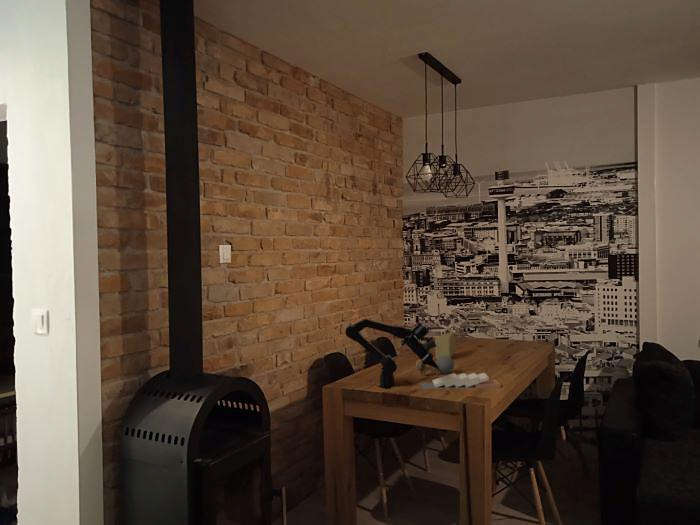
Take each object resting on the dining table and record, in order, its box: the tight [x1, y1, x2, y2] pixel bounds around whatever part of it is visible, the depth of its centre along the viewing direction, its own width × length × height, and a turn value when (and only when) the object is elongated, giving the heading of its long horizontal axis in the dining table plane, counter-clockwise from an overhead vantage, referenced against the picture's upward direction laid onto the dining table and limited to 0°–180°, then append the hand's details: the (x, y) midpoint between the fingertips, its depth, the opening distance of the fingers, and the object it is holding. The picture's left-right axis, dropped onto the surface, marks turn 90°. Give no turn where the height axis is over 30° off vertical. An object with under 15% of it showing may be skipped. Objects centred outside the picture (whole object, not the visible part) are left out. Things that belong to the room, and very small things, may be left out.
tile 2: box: [444, 372, 469, 387], centre depth 285 cm, size 2×10×12 cm
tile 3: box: [455, 372, 479, 388], centre depth 285 cm, size 2×10×12 cm
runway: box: [419, 382, 485, 390], centre depth 285 cm, size 32×13×1 cm, turn 89°
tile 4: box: [465, 372, 490, 388], centre depth 285 cm, size 2×10×12 cm
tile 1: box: [431, 372, 459, 388], centre depth 286 cm, size 2×10×12 cm
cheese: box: [434, 331, 456, 360], centre depth 365 cm, size 22×10×15 cm, turn 151°
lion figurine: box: [415, 359, 440, 377], centre depth 312 cm, size 15×5×9 cm, turn 115°
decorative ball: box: [435, 355, 455, 375], centre depth 316 cm, size 10×10×10 cm
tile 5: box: [474, 379, 501, 389], centre depth 285 cm, size 2×10×12 cm
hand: (437, 367), depth 285 cm, fingers closed
